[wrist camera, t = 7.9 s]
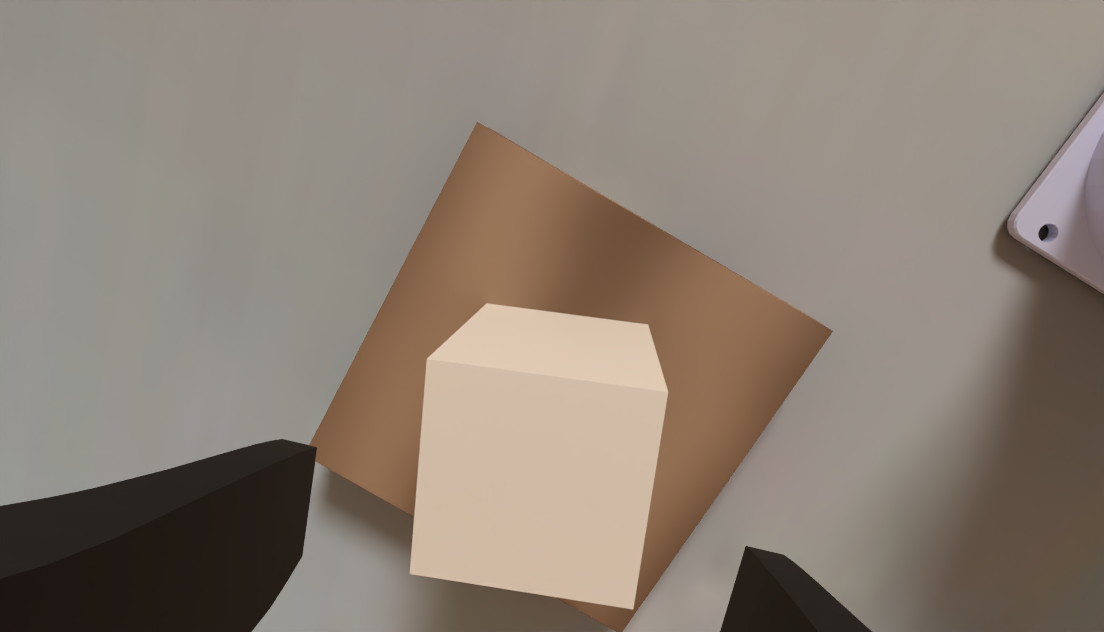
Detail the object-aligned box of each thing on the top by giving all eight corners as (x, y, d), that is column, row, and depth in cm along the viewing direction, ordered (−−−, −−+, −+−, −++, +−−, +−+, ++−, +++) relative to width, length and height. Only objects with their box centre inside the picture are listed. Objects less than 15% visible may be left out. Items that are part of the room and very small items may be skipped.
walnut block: (799, 310, 20) (833, 331, 17) (618, 575, 22) (620, 633, 19) (496, 132, 20) (477, 122, 17) (344, 419, 22) (304, 455, 19)
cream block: (648, 324, 17) (668, 392, 12) (625, 475, 18) (633, 609, 13) (486, 303, 18) (426, 358, 12) (471, 453, 19) (409, 574, 13)
